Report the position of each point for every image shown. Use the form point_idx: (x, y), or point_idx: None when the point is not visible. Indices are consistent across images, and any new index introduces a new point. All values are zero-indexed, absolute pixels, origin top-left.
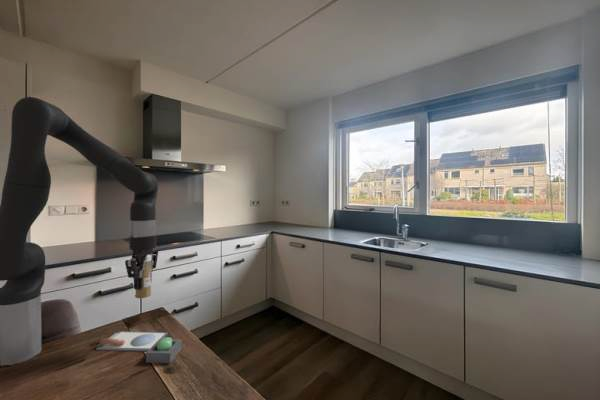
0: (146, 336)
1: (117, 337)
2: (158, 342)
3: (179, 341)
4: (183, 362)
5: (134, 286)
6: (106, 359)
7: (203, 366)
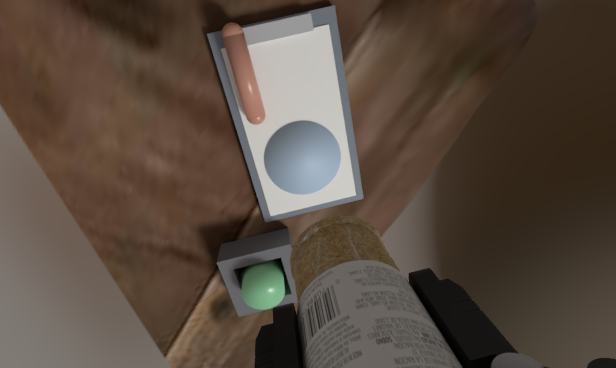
0: (323, 153)
1: (291, 47)
2: (249, 284)
3: (294, 301)
4: (255, 316)
5: (256, 350)
6: (188, 122)
7: None
